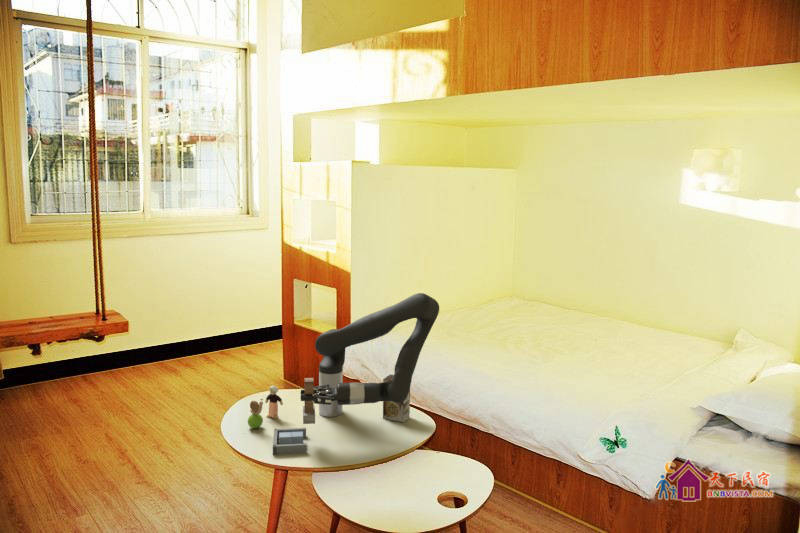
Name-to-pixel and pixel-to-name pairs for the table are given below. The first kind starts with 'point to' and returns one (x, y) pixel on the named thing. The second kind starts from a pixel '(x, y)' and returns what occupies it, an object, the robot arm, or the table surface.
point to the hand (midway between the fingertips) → (300, 395)
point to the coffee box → (396, 407)
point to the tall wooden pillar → (309, 403)
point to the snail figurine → (255, 414)
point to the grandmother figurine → (273, 402)
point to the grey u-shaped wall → (288, 447)
